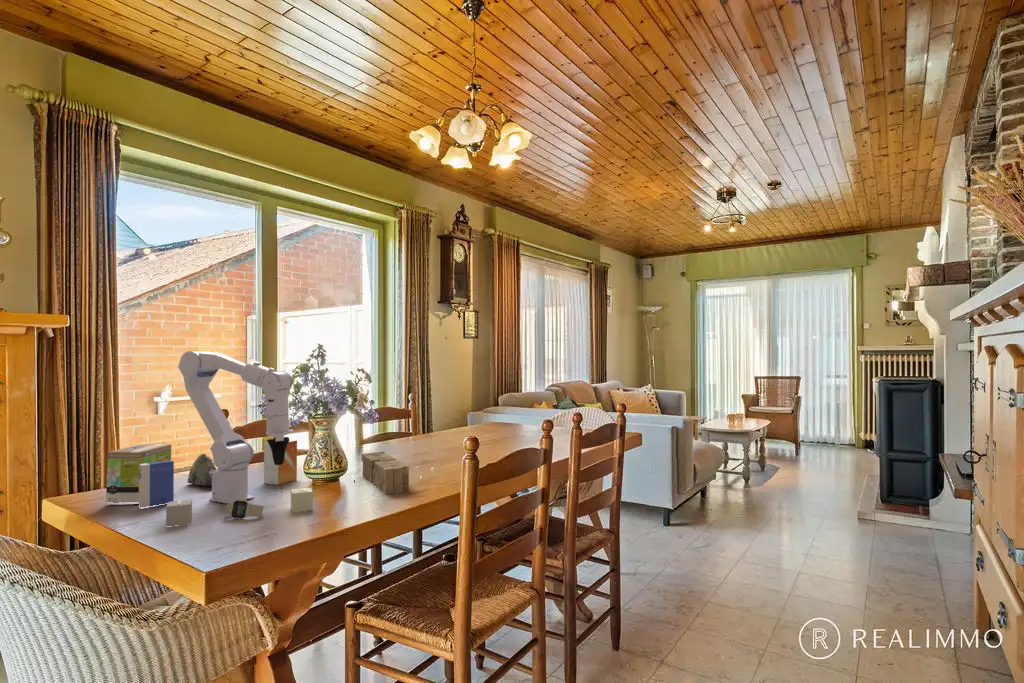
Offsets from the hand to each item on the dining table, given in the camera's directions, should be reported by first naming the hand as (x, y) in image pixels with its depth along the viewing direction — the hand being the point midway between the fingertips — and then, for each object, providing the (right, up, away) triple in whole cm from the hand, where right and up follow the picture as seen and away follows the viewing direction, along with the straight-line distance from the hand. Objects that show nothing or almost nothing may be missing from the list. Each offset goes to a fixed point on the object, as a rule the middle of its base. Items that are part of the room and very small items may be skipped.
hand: (278, 464), depth 159 cm
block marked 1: (-16, -10, -19) cm, 27 cm away
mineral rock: (-32, -11, +21) cm, 39 cm away
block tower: (+24, -11, +23) cm, 35 cm away
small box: (-10, -11, +26) cm, 30 cm away
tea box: (-42, -11, +5) cm, 43 cm away
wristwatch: (-3, -11, -13) cm, 17 cm away
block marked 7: (+9, -10, -7) cm, 16 cm away
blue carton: (-32, -11, -3) cm, 34 cm away
